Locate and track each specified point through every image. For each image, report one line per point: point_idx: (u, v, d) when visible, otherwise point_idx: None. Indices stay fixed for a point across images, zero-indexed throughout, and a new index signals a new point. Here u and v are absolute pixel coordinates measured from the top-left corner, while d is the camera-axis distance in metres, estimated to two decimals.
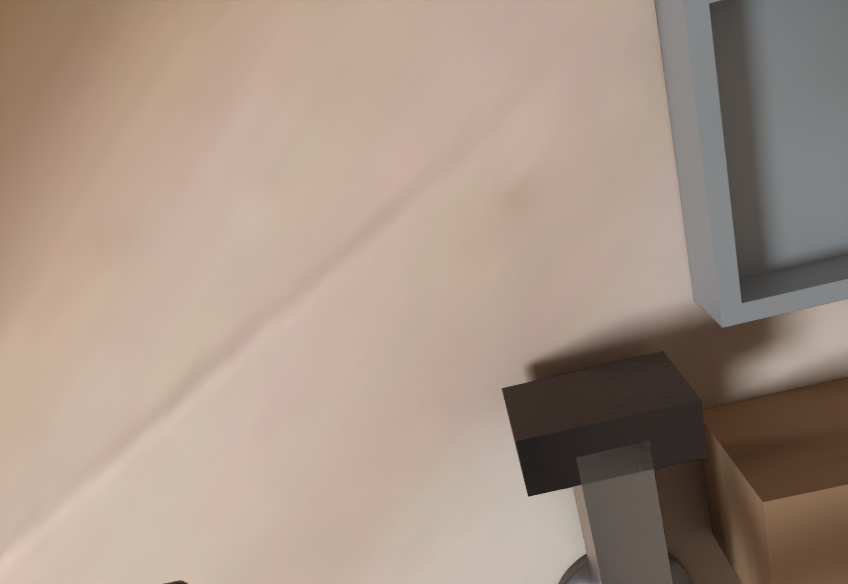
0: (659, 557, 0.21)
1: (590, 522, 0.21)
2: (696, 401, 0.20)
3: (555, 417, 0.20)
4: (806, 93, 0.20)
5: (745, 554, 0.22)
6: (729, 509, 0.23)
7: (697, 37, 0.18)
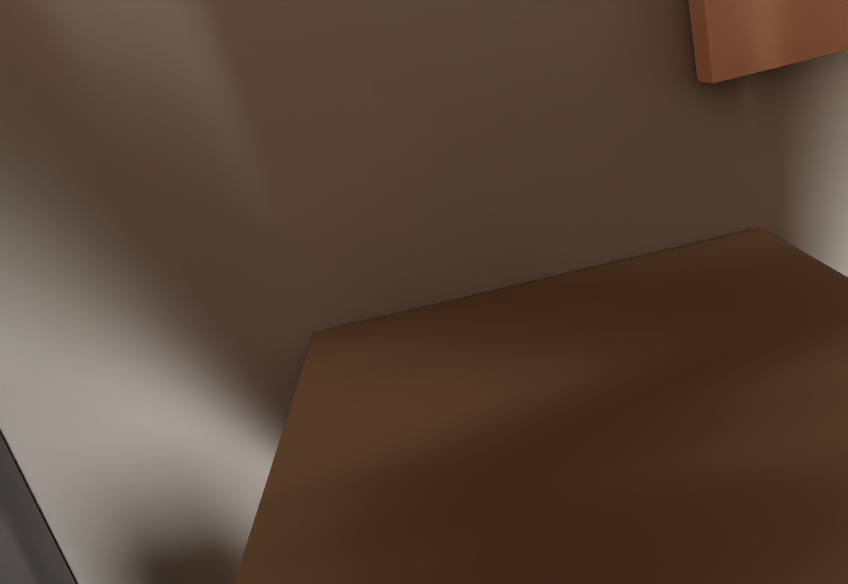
0: None
1: None
2: None
3: None
4: None
5: None
6: None
7: None
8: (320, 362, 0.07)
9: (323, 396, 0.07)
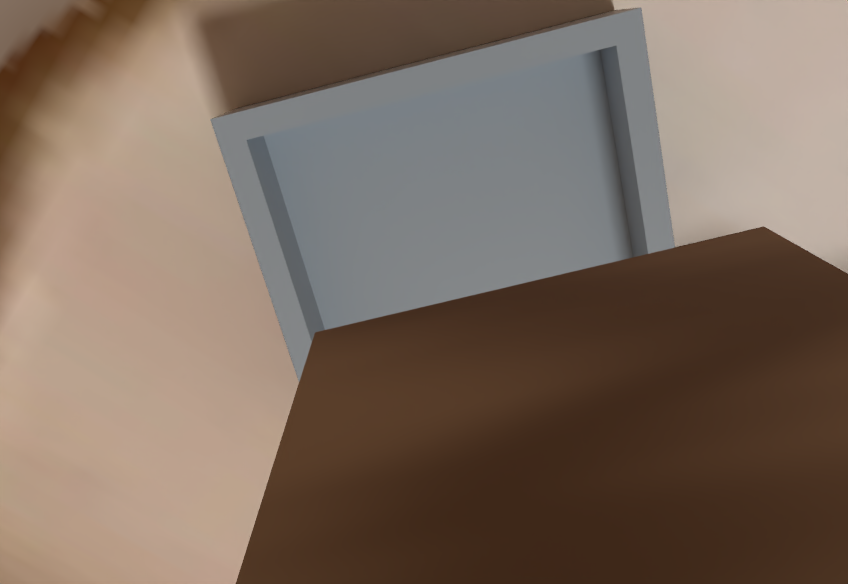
0: None
1: None
2: None
3: None
4: (438, 297, 0.19)
5: None
6: None
7: None
8: (322, 361, 0.07)
9: (324, 397, 0.07)
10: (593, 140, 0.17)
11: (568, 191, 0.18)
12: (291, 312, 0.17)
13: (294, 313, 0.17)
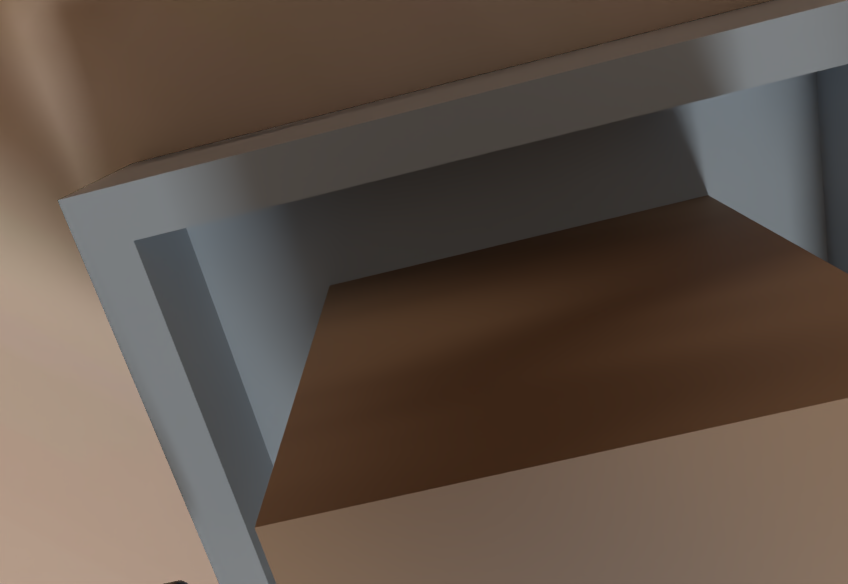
0: None
1: None
2: None
3: None
4: None
5: None
6: None
7: None
8: (336, 305, 0.09)
9: (340, 329, 0.08)
10: (787, 222, 0.10)
11: None
12: (234, 549, 0.09)
13: (239, 551, 0.09)
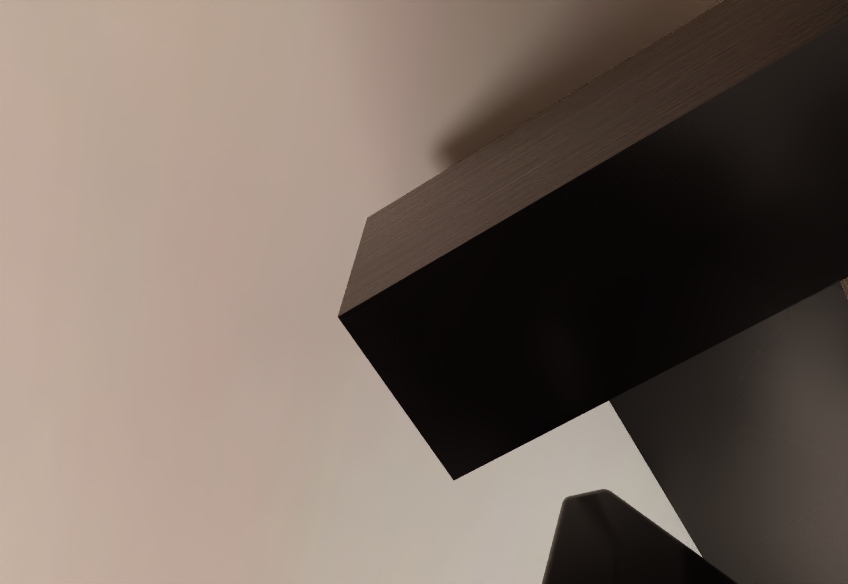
0: None
1: (677, 508, 0.07)
2: None
3: (468, 212, 0.06)
4: None
5: None
6: None
7: None
8: None
9: None
10: None
11: None
12: None
13: None
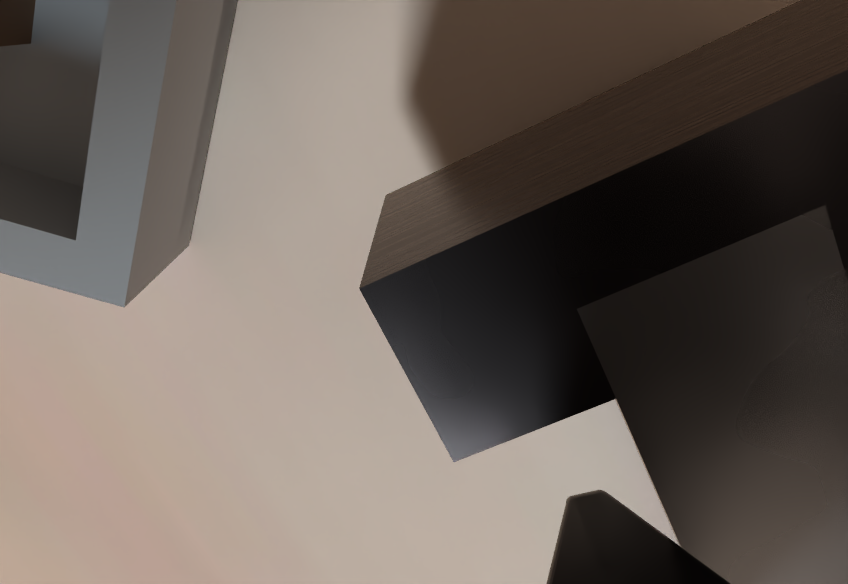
0: None
1: (669, 511, 0.07)
2: None
3: (495, 200, 0.06)
4: None
5: None
6: None
7: None
8: None
9: None
10: None
11: None
12: None
13: None
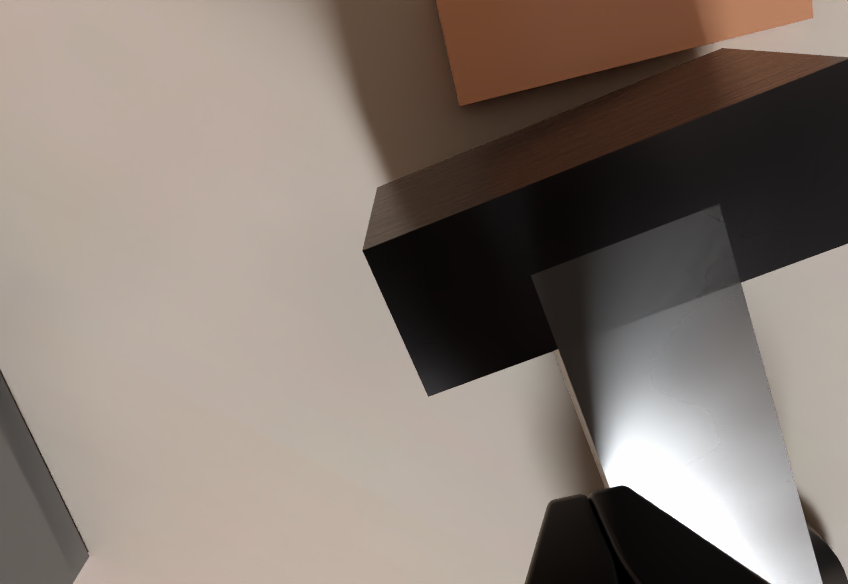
0: (780, 512, 0.09)
1: (596, 444, 0.08)
2: (839, 63, 0.07)
3: (471, 190, 0.08)
4: None
5: None
6: None
7: None
8: None
9: None
10: None
11: None
12: None
13: None
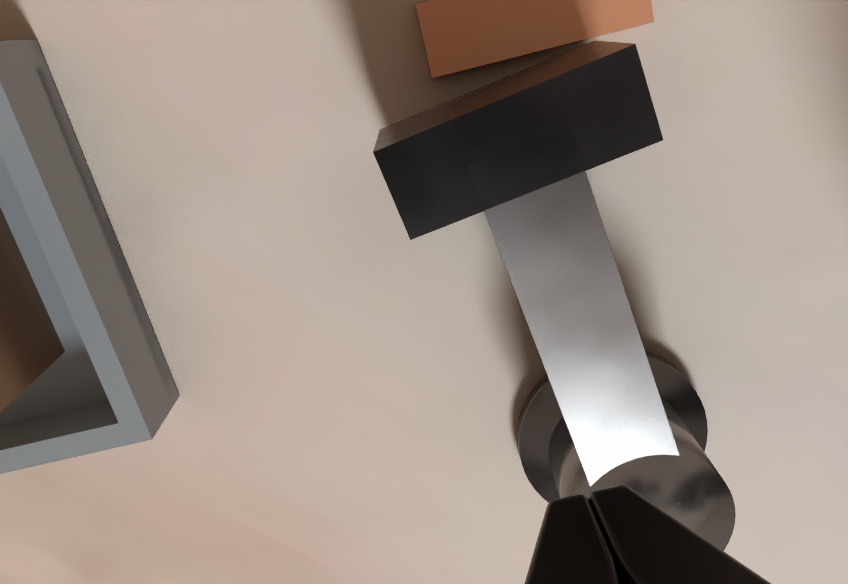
0: (619, 313, 0.15)
1: (508, 270, 0.14)
2: (629, 46, 0.13)
3: (435, 121, 0.14)
4: None
5: None
6: None
7: None
8: None
9: None
10: None
11: (16, 223, 0.17)
12: None
13: None
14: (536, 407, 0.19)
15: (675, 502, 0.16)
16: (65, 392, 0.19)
